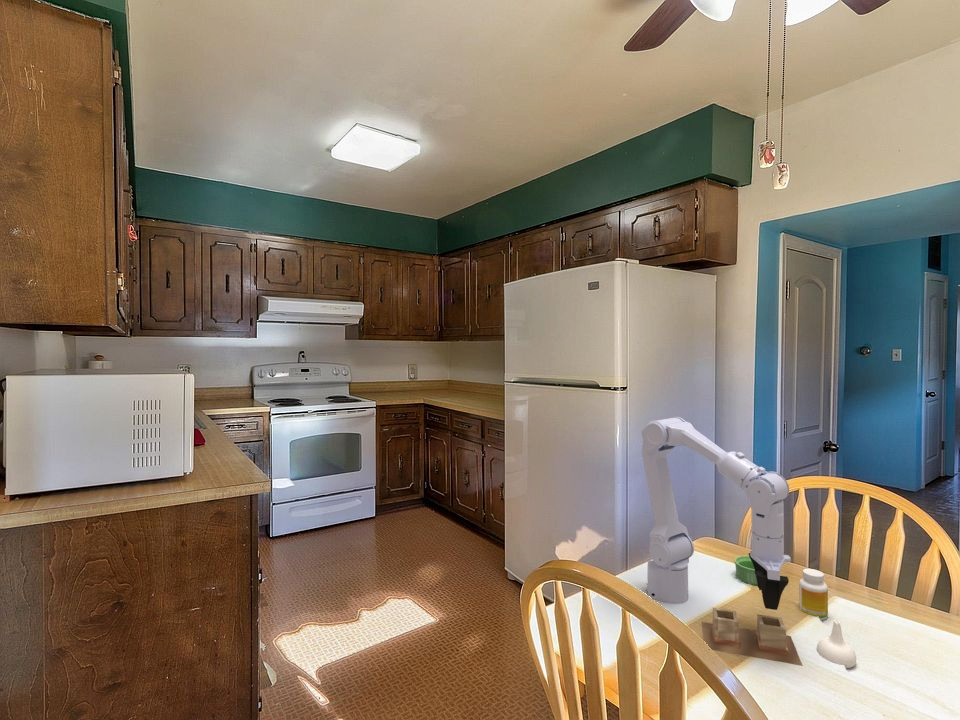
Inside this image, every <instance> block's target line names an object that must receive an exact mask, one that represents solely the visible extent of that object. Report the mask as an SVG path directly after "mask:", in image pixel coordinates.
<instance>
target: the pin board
mask: <svg viewBox="0 0 960 720" xmlns="http://www.w3.org/2000/svg"><path fill="white" fill-rule="evenodd" d="M711 625H712V626H713V623H710V622H705V621H701V629H702V630H701V631H702V641H703V640H704V641H705V642H706V644H708V646H709V647H710V648H711V649H712V650H711V651H717V652H722V653H728V654H733V655H738V656H745V657H750V658H756V659H761V660H762V659H763V660H768V661H773V662H778V663H779V662H780V663H784V664H791V665H795V666H803V664H802V662H801V658H800V656H799V654H798V651H797V648H796V645H795V643H794V641H793V638H792V636H791V635H787V634H786V646H787V649H788V655H781V654H775V653H769V652H764V651H760V650H759V648H758V644H757V641H756V632H757V630H755V629H747V628H742V627H738V629H739V638H740V647H734V646H729V645H723V644H717V643H713V638H712V631H711ZM704 641H703V642H704Z"/></svg>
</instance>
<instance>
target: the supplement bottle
mask: <svg viewBox="0 0 960 720" xmlns="http://www.w3.org/2000/svg"><path fill="white" fill-rule="evenodd" d="M802 577H803V578H802ZM802 577H801V579H800V580H799V583H798V585H799V586H798V587H799V597H798V598H799V600H798V601H799V604H798V605H799V609H800V611H802V612H803V613H805V614H807V615H810V616H813V617H817V618H818V619H819V620H820V621H825V620H827V619H828V618H829V617H828V616H829V606H828V605H829V592H828V591H829V587H828V584H827V583H825V574H824V572H822V571H821V570H817V569H814V568H804V569H803V570H802Z"/></svg>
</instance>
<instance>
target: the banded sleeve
mask: <svg viewBox="0 0 960 720" xmlns="http://www.w3.org/2000/svg"><path fill="white" fill-rule="evenodd" d="M756 631H757V632H756V641H757V644H758V648H759V650H760V651H764V652H769V653H775V654H781V655H788V649H787V646H786V635H787V629H786V626H785V623H784V620H783V618H782V617H778V616H771V615H765V614H758V613H757V614H756Z"/></svg>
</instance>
